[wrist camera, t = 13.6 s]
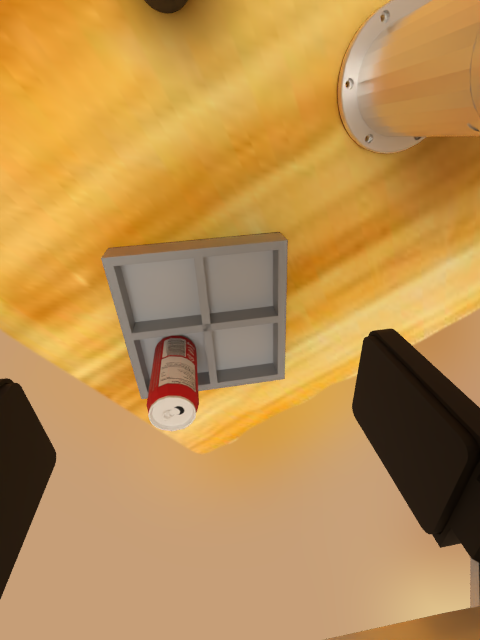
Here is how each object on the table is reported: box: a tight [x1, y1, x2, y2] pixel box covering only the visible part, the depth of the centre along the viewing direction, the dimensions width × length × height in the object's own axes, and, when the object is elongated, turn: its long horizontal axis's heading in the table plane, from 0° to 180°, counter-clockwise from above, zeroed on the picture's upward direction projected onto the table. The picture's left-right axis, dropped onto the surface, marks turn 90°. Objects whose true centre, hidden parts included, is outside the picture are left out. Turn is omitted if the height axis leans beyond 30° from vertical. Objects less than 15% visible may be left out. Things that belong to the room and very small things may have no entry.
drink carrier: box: [101, 232, 288, 399], centre depth 40 cm, size 20×20×4 cm
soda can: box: [147, 336, 199, 431], centre depth 38 cm, size 6×6×12 cm
